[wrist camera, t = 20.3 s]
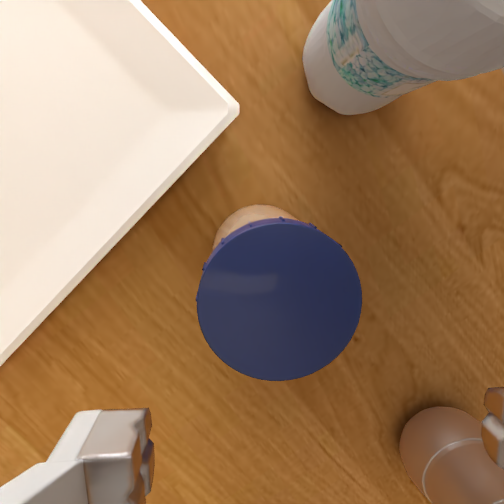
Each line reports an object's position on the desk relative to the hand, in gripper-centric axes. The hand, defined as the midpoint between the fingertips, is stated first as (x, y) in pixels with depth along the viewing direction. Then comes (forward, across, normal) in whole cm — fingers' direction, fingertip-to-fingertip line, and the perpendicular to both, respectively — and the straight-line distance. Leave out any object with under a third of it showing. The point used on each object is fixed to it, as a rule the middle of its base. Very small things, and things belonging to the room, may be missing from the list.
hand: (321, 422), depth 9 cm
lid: (+8, 0, 0) cm, 8 cm away
